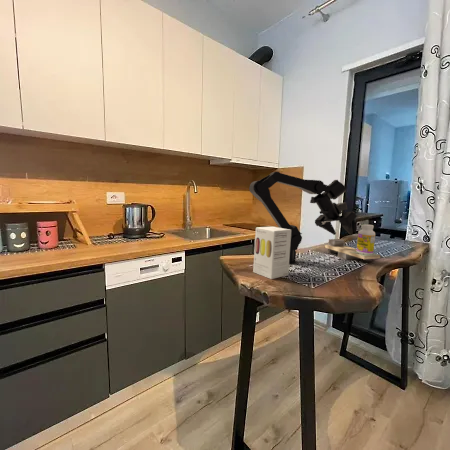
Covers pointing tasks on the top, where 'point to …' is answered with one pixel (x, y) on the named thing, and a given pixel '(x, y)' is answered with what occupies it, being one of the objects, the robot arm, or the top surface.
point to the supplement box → (272, 251)
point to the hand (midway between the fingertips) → (343, 234)
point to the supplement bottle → (366, 240)
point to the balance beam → (346, 251)
